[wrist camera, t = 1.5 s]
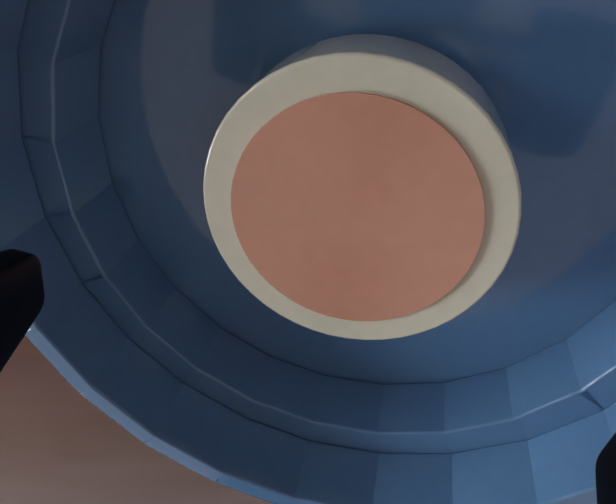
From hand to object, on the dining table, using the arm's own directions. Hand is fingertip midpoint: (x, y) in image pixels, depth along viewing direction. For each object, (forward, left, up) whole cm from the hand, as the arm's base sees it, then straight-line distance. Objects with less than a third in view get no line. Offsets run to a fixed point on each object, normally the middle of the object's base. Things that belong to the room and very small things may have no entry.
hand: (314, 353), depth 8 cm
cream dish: (0, 0, -7) cm, 7 cm away
